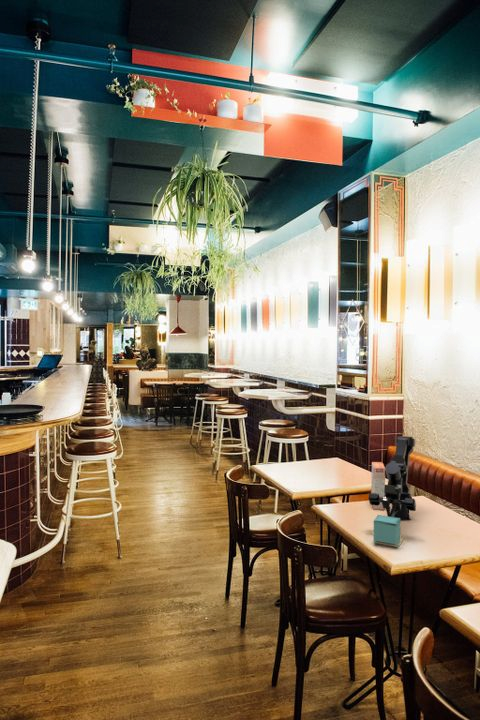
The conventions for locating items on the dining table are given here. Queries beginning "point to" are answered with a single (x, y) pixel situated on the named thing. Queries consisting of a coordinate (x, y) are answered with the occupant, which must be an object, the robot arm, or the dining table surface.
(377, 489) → the cracker box
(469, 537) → the dining table surface
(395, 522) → the cover
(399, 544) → the parcel base
